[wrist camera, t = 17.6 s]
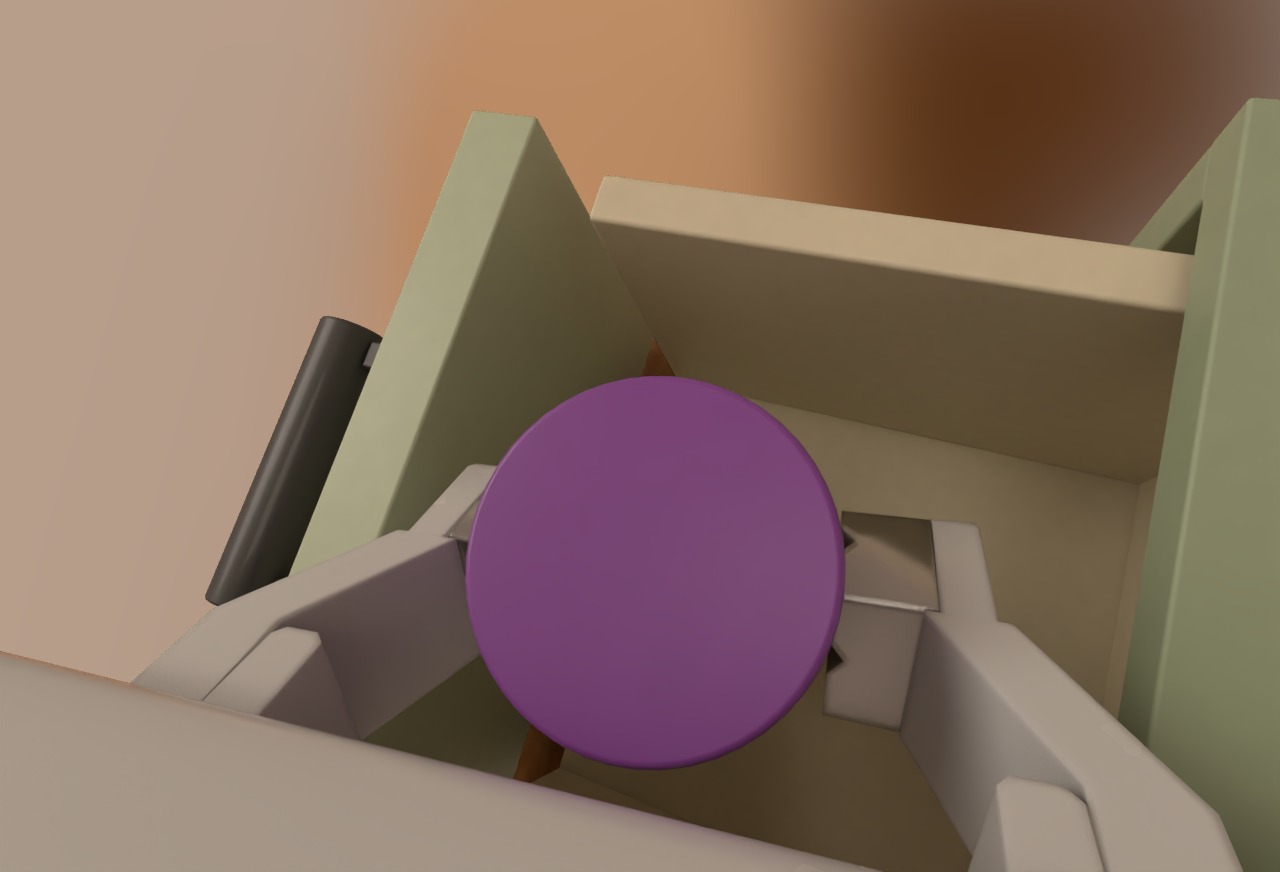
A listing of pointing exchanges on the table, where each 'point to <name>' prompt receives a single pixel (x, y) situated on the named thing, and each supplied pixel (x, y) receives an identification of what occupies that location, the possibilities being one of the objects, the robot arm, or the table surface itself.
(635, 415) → the glue stick
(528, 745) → the table surface
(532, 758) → the table surface
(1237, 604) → the cabinet
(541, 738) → the table surface
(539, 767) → the table surface
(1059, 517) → the drawer
